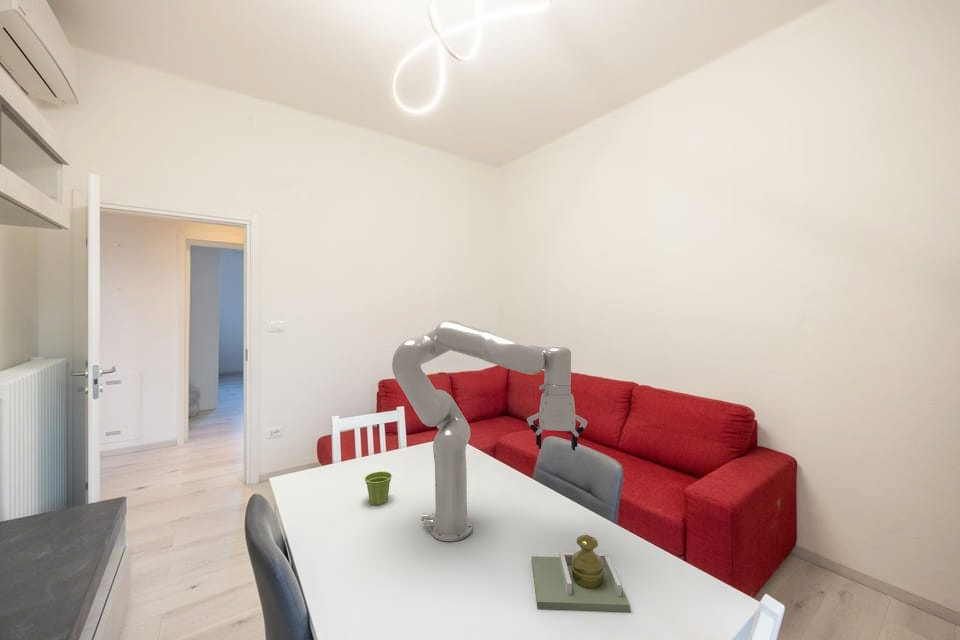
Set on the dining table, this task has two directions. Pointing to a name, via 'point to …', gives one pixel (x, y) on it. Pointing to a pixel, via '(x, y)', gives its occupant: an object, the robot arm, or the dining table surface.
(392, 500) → the dining table surface
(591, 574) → the olive rounded stacked piece
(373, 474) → the plant pot
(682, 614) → the dining table surface
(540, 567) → the board with raised rails
